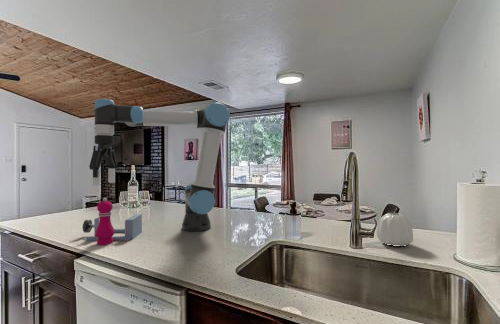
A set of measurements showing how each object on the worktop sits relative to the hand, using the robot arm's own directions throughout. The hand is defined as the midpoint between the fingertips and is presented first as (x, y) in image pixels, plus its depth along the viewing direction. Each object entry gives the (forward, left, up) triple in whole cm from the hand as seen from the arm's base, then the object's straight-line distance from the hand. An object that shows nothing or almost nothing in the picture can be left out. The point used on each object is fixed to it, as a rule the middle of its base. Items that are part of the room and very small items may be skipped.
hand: (104, 184), depth 120 cm
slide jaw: (+9, -11, -26) cm, 30 cm away
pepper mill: (0, 0, -26) cm, 26 cm away
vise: (-1, -11, -26) cm, 28 cm away
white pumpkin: (-126, +7, -26) cm, 129 cm away
